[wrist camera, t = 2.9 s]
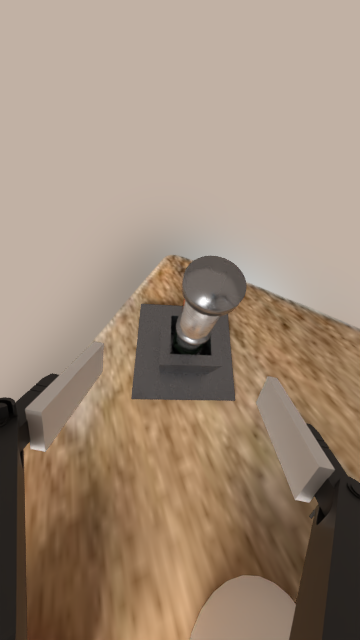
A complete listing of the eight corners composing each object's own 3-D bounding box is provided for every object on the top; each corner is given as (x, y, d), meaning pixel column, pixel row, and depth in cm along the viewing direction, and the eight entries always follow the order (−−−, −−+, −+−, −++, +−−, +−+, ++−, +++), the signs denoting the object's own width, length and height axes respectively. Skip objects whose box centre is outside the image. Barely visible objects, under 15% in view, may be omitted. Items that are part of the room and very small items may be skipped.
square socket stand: (225, 311, 42) (245, 282, 32) (232, 400, 35) (261, 401, 25) (141, 307, 41) (135, 275, 30) (132, 398, 34) (119, 398, 24)
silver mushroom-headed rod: (198, 335, 37) (242, 258, 17) (198, 362, 35) (249, 311, 15) (171, 334, 37) (183, 253, 16) (170, 361, 35) (183, 308, 14)
